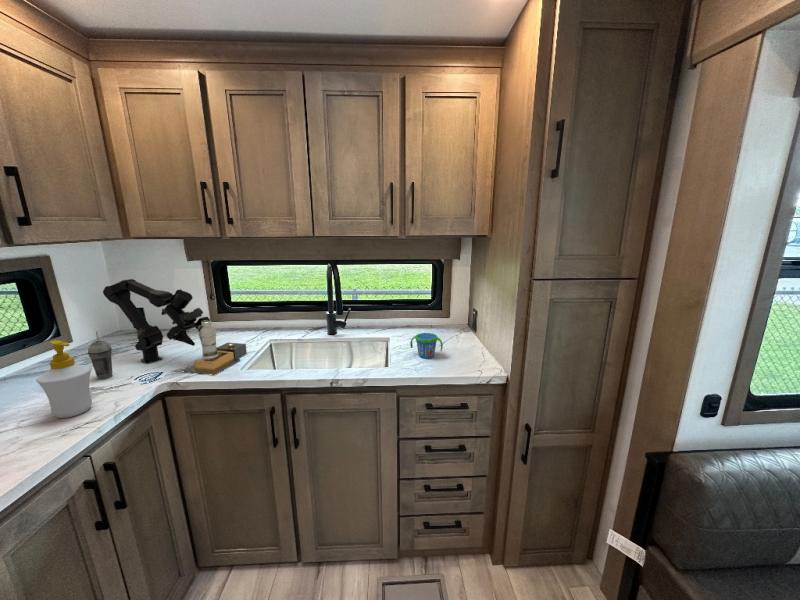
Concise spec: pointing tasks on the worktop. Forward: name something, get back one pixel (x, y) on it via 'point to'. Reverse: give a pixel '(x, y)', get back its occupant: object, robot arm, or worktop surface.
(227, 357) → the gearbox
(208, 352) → the plastic bottle
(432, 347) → the snack cup
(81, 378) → the soap bottle
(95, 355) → the beverage cup
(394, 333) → the worktop surface
